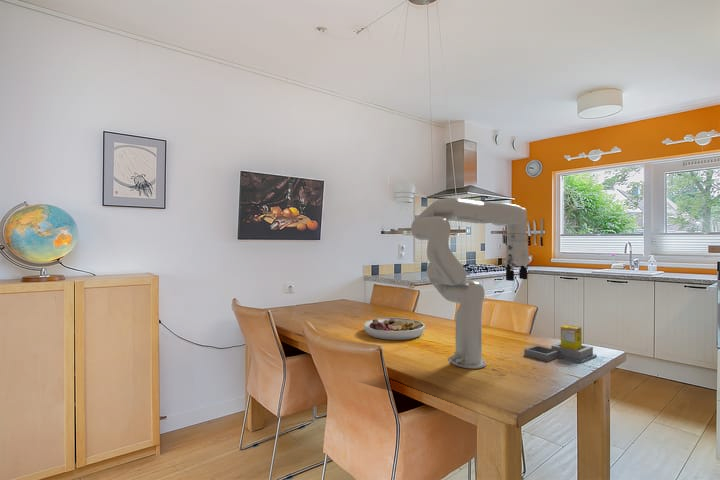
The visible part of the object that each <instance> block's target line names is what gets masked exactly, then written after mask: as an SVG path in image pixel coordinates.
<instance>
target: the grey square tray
mask: <svg viewBox="0 0 720 480" xmlns="http://www.w3.org/2000/svg"><path fill="white" fill-rule="evenodd" d="M523 354H524V356H525V357H529V358H533V359H537V360H541V361H544V362H550V361H553V360H556V359H558V358H559V355H560V351H559V350H555V349H551V347H547V346H546V347H545V346H542V345H538V344H537V345H533V346H530V347H527V348H524V349H523Z"/></svg>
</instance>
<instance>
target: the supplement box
mask: <svg viewBox="0 0 720 480" xmlns="http://www.w3.org/2000/svg"><path fill="white" fill-rule="evenodd" d="M582 338H583V337H582V326H576V325H571V324H565V325H562V326H560V343H561V347H565V348H569V349H574V350H580V349H582V345H583V344H582V343H583V342H582Z"/></svg>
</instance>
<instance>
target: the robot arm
mask: <svg viewBox="0 0 720 480" xmlns="http://www.w3.org/2000/svg"><path fill="white" fill-rule="evenodd" d="M527 215H528V213H527V209H526V208H525V207H521V206H520V205H517V204H512V203H505V202H504V203H503V202H492V201H481V200H474V199H473V200H472V199H466V198H459V197H447V198H441V199H437V200H434V202H432V203H431V204H430V205H429V206H427V207H426V208H425V209H424V210H423V211H422V212H421V213H420V214H418V215H417V216H416V217H415V218H414V220H413V221H412V223H411V227H410V232H411V234H412V237H414V238H415V239H417V240H420V241H427V248H426V256H427V259H428V261H429V263H428V265H427V266H426V276H427V278H428V280H429V282H430V283H431V284H432V285H433V287H434V288H435V289H436V291H437V292H438V293H439V294H440V295H441V297H443V298H444V299H445V300H446V301H448V302H451V303H456V304H459V305H458V308H457V309H456V313H455V321H454V322H455V351H454V352H453V355H451V356H449V357H447V361H448V363H452V365H454V366H457V367H459V368H463V369H469V370H471V369H472V370H473V369H481V368H485V367H486V366H487V361H486V360H485V359H484V358H483V357H482V356H483V353H482V349H483V348H482V344H483V341H482V340H483V339H482V338H483V337H482V335H483V334H482V332H483V329H482V328H483V327H482V323H483V321H482V319H483V317H482V315H483V305H484V300H485V288H484V286H483V285H482V284H481V283H480V282H479V281H476V280H473V279H467V272H466V269H465V267H464V266H463V264H462V263H461V262H460V261H459V259H458V258H457V257H456V256H455V254H454V253H453V252H452V250H451V249H450V246H449V245H450V244H449V243H450V242H449V241H450V234H451V224H450V221H451V222H452V221H454V222H461V223H462V222H463V223H470V224H492V225H494V226H506V248H505V258H504V259H503V260H502V262H503V266H504V269H505V280H506V281H507V282H508V281H510V282H511V281H512V282H514V281H515V270H514V269H515V267H519V269H518V270H519V271H518V274H519V275H518V277H519V279H520V280H528V269H529V265H530V255H529V254H530V253H529V252H530V251H529V244H528V241H527V240H528V235H527V232H528V231H527V230H528V229H527V228H528V227H527V225H528V218H527Z"/></svg>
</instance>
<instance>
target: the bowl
mask: <svg viewBox="0 0 720 480" xmlns="http://www.w3.org/2000/svg"><path fill="white" fill-rule="evenodd" d="M425 328H426V327H425V323H423V322H422V321H419V320H416V319H411V318H405V317H382V318H381V317H379V318H373V319H370V320H367V321H365V322H364V324H363V329H364V331H365V333H366V334H367V335H368V336H370V337H373V338H376V339H379V340H385V341H386V340H387V341H406V340H412V339H416V338H418V337H420V336H421V335H422V334H423V333H424V331H425Z"/></svg>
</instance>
